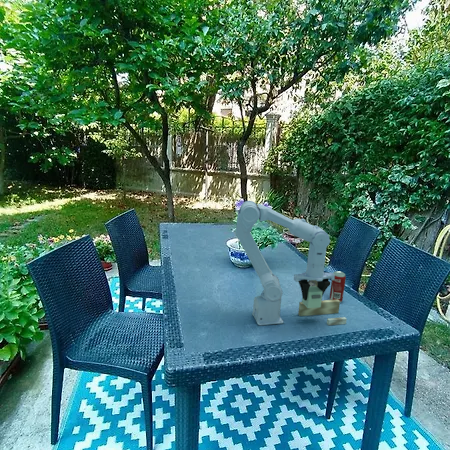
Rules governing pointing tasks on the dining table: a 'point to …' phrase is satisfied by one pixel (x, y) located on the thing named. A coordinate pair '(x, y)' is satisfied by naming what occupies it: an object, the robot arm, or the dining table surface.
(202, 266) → the dining table surface
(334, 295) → the soda can
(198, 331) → the dining table surface
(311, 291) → the cabinet block
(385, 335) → the dining table surface
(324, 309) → the wall board
